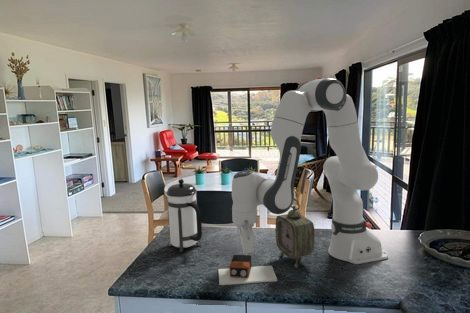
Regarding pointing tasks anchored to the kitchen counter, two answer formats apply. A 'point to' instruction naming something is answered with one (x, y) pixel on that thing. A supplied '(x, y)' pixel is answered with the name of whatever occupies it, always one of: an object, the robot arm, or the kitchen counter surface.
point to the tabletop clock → (294, 234)
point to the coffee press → (183, 216)
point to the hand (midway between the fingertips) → (245, 253)
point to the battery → (240, 266)
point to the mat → (255, 276)
